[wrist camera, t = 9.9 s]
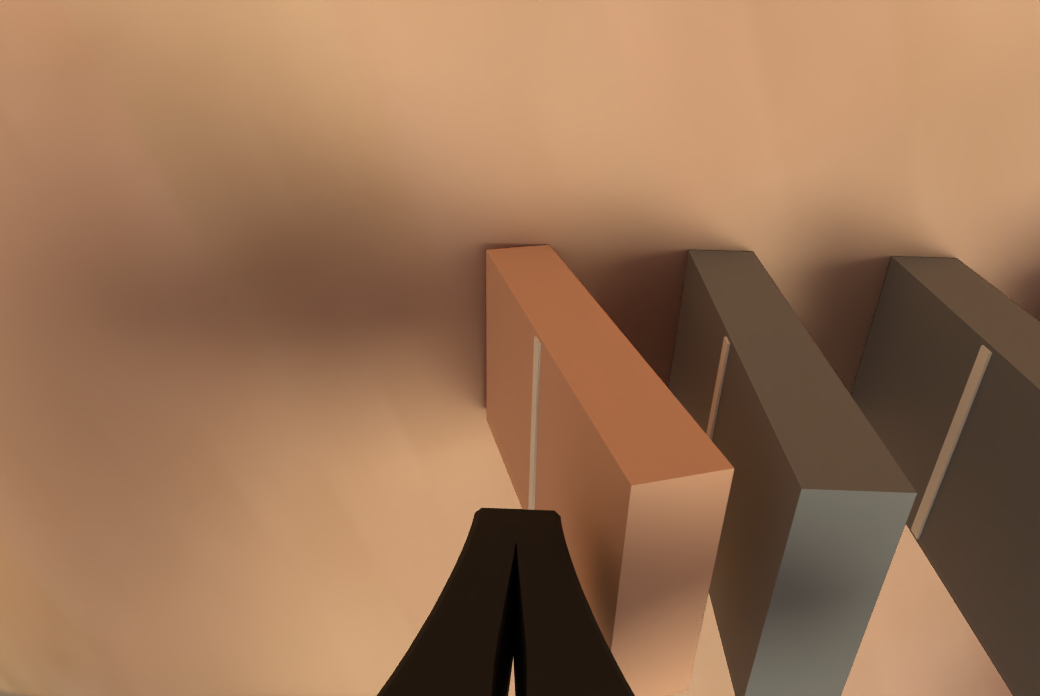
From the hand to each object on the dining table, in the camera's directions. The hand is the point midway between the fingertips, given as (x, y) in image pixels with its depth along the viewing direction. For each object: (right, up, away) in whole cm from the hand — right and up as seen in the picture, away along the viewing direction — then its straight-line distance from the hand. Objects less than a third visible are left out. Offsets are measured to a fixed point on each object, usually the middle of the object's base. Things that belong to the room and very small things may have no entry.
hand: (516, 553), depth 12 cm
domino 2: (+10, +4, +7) cm, 13 cm away
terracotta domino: (0, +4, +7) cm, 8 cm away
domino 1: (+5, +4, +7) cm, 9 cm away
